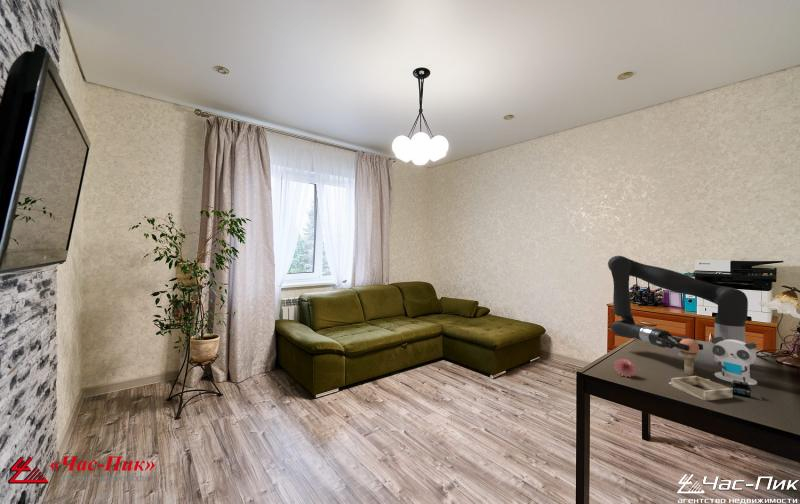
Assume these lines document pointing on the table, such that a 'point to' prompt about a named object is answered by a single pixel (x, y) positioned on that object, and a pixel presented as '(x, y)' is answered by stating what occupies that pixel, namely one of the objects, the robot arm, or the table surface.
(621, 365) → the flower
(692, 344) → the ball
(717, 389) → the corral
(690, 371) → the tee
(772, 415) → the table surface
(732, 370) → the panda figurine
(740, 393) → the black slotted stand
